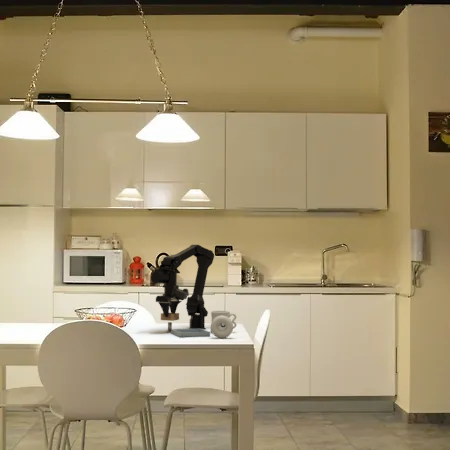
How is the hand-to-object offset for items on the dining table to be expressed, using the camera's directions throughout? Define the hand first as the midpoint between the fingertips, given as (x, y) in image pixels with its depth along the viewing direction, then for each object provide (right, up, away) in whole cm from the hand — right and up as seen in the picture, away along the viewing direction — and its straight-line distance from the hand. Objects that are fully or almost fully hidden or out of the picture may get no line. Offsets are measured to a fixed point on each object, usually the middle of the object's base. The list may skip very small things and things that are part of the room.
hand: (169, 316), depth 313 cm
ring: (0, -2, 0) cm, 2 cm away
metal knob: (0, -7, 0) cm, 7 cm away
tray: (+10, -7, -10) cm, 16 cm away
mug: (+25, -8, +1) cm, 26 cm away
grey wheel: (+24, -7, -20) cm, 32 cm away
